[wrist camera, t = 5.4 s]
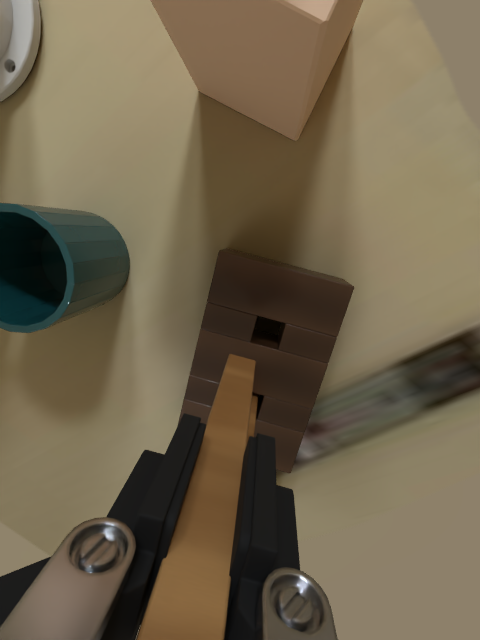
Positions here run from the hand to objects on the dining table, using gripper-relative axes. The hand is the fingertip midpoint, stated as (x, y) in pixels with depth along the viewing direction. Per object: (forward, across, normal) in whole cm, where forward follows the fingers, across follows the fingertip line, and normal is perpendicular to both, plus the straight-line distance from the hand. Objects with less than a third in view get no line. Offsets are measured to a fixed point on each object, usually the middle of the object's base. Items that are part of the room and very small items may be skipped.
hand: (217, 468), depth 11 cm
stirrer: (+8, 0, 0) cm, 8 cm away
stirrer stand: (+21, -2, +4) cm, 21 cm away
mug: (+21, +17, 0) cm, 27 cm away
